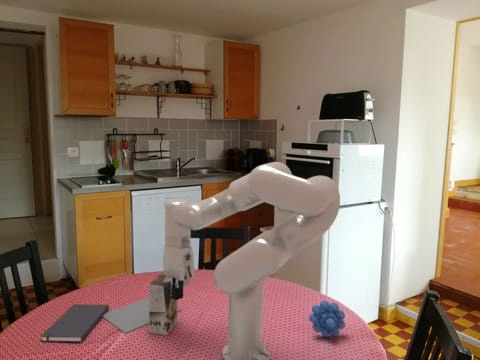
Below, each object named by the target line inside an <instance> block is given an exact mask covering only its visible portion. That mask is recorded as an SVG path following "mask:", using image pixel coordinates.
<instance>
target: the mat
mask: <svg viewBox="0 0 480 360" xmlns="http://www.w3.org/2000/svg"><path fill="white" fill-rule="evenodd" d="M177 308H178V313H179V312H182V310H183V309H181V308H180V307H178V306H177ZM102 319H104V320H106V321H107V322H109V324H111V325H113V326H114V327H115V328H117V329H118V330H119V331H121V332H124V333H123V334H129V333H131V332H133V331H136V330H138V329H140V328H143V327H145V326H147V325H148V326H149V297H146V298H145V299H141V300H139V301H135V302H133V303H130V304H128V305H124V306H121V307H119V308H115V309H114V310H110V311H107V312H106V313H105V314H104V315H103V317H102Z"/></svg>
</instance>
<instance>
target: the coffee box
mask: <svg viewBox="0 0 480 360" xmlns="http://www.w3.org/2000/svg"><path fill="white" fill-rule="evenodd" d="M148 298H149V324H148V326H149V327H148V331H149V334H150V333H151V334H156V335H164V336H168V335H169V334H170V332H171V331H172V329H173V328H174V327H175V326H176V325H177V323H178V319H179V318H178V313H179V312H178V308H179V307H178V300H174V299H172V286H171V284H170V279H169V277H168V276H166V274H160V273H159V275H157V276H156V277H155V278H154V279H153V280H152V281H151V282H150V283H149V284H148ZM177 307H178V308H177Z"/></svg>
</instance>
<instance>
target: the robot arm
mask: <svg viewBox="0 0 480 360" xmlns="http://www.w3.org/2000/svg"><path fill="white" fill-rule="evenodd" d="M263 203H267V204H268V205H272V206H274V207H277V208H280V209H282V210H284V211H288V212H290V213H293V214H292V215H291V216H289V217H288V218H287V219H285V220H284V221H282V222H281V223H279V224H277V225H276V226H274V227H272V228H270V229H268V230H266V231H264V232H262V233H260V234H259V235H257V236H256V237H253V239H251V240H249V241H248V242H247V243H245V244H244V245H242V246H241V247H239V248H238V249H237V250H235V251H233V252H231V253H230V254H229V255H227V256H225V257H224V258H223V259H221V260H220V261H219V262H218V263H217V265H216V266H215V269H214V273H213V279H214V283H215V285H216V287H217V288H218V289H219V290H220V291H221V292H223V293H224V294H227V295H228V322H227V323H228V325H227V328H228V329H227V330H228V331H227V334H228V336H227V340H228V341H227V344H226V345H224V347H223V349H222V354H221V355H222V358H223V360H270V358H271V356H272V354H271V353H270V352H269V351H267V349H266V347H265V343H264V342H263V341H262V340H263V339H262V338H263V337H262V336H263V335H262V334H263V304H264V303H263V302H264V285H265V279H266V278H268V277H270V276H272V275H273V274H274V273H275V272H277V271H278V270H279V269H280V268H281V267H282V266H283V265H285V264H286V263H287V262H288V260H290V258H292V257H293V256H295V254H297V253H298V252H300V251H302V250H303V249H305V248H306V247H308V246H309V245H311V244H312V243H314V242H315V241H316V240H318V239H319V238H320V237H322V236H323V235H324V234H325V233H326V232H327V231H328V230H329V229H330V228H331V227H332V225H333V224H334V222H335V220H336V219H337V217H338V214H339V210H340V206H341V195H340V190H339V187H338V185H337V183H336V182H335V181H334V179H332V178H331V177H329V176H325V175H316V176H315V175H314V176H312V177H309V178H307V179H305V178H303V177H299V176H296V175H294V174H292V171H291V170H290V168H289V167H288V165H286V164H285V163H282V162H280V161H273V162H269V163H268V162H267V163H264V164H261V165H258V166H256V167H255V168H253V170H251V172H249V173H247V174H245V175H244V176H242V177H240V178H238V179H235V180H233V181H231V183H230V184H229V187H228V188H226V189H224V190H223V191H221V192H219V193H216V194H214V195H212V196H211V197H208V198H206V199H201V200H199V201H195V202H193V203H191V202H190V201H189V200H188V199H185V198H171V199H168V200H166V201H165V204H164V246H163V256H162V268H163V272H164V275H166V276H168V277H169V279H170V284H171V286H172V299H174V300H177V301H178V300H180V299H183V298H184V286H188V285H190V284H191V278H194V276H195V259H194V258H195V257H194V252H193V247H192V245H191V230H192V231H197V230H198V231H200V230H201V229H203V228H206V227H209V226H210V225H212V224H213V225H214V223H217V222H219V221H221V220H223V219H225V218H227V217H230V216H232V215H234V214H236V213H238V212H244V211H247V210H249V209H251V208H254V207H256V206H258V205H261V204H263Z"/></svg>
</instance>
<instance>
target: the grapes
mask: <svg viewBox="0 0 480 360" xmlns="http://www.w3.org/2000/svg"><path fill="white" fill-rule="evenodd" d="M311 311H312V313H311V314H310V315H309V316H308V319H309V322H311V323H312V329H313V331H314V332H316V333H321V336H322V337H324V338H329V337H330V336H331V335H332V336H334V337H338V336H339V335H340V330H343V329H345V328H346V323H345V320H344V319H345V318H346V314H345V311H344V310H340V307H339V305H338V304H337V303H336V302H331V303H329V301H327V300H322V301H320V303H319V305H318V304H313V306H312V307H311Z"/></svg>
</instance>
